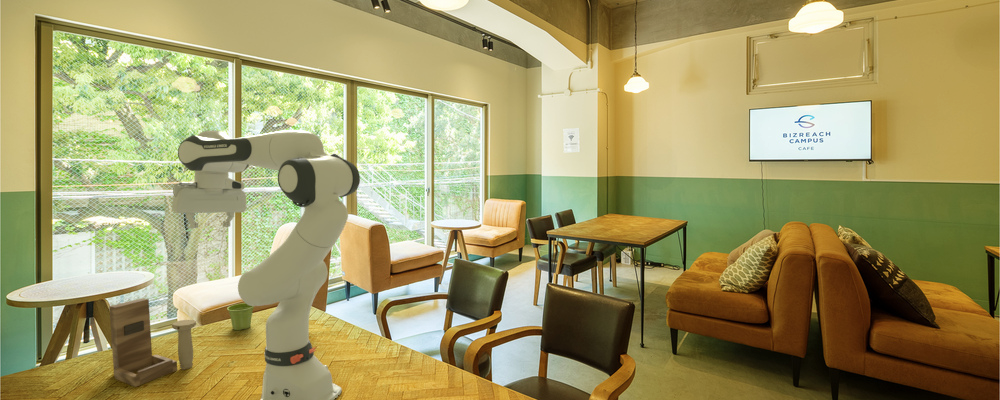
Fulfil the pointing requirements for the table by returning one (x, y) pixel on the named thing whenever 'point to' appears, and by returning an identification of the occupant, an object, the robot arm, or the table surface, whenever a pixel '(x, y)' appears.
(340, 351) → the table surface
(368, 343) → the table surface
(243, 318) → the plant pot
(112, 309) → the wooden frame stand
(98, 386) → the table surface
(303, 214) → the robot arm
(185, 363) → the handle
